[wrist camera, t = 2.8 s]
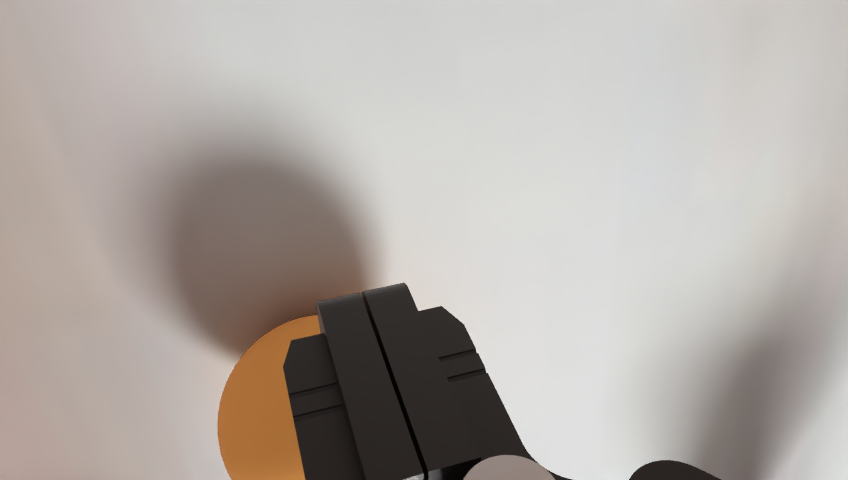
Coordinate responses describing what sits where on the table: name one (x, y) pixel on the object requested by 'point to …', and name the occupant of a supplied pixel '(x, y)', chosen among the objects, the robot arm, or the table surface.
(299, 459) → the ball
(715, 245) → the table surface
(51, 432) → the table surface
